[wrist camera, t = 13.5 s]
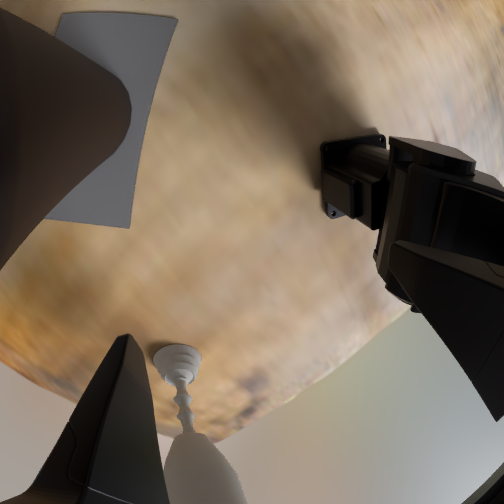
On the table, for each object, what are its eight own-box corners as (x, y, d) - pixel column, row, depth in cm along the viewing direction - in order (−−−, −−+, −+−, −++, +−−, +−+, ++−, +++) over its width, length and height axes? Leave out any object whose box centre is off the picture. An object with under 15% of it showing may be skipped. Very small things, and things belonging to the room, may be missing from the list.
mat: (177, 20, 13) (177, 19, 13) (130, 226, 19) (129, 228, 19) (64, 15, 10) (63, 13, 10) (30, 215, 16) (28, 216, 16)
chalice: (129, 354, 25) (144, 536, 9) (184, 325, 25) (232, 526, 10) (172, 387, 29) (203, 537, 13) (222, 364, 29) (276, 521, 14)
